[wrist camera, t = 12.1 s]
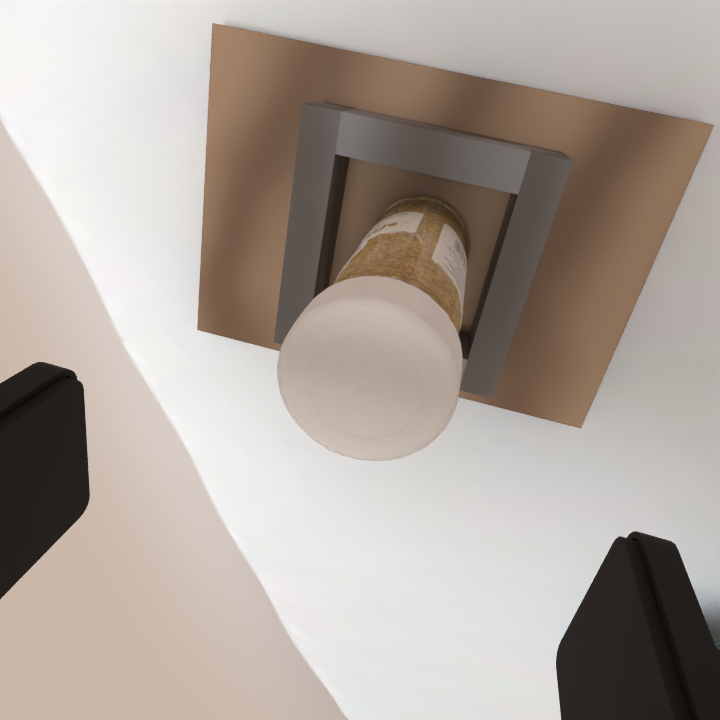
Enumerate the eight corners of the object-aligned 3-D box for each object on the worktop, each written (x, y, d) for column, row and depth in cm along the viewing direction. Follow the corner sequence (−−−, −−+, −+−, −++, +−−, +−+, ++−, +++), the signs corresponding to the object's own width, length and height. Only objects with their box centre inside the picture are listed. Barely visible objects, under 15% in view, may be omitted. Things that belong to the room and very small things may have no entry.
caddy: (703, 123, 22) (746, 131, 19) (577, 415, 29) (590, 464, 25) (224, 25, 24) (177, 15, 20) (207, 321, 31) (169, 353, 27)
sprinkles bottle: (381, 183, 25) (284, 278, 13) (484, 207, 24) (483, 329, 12) (361, 281, 27) (262, 441, 15) (456, 305, 26) (432, 489, 14)
